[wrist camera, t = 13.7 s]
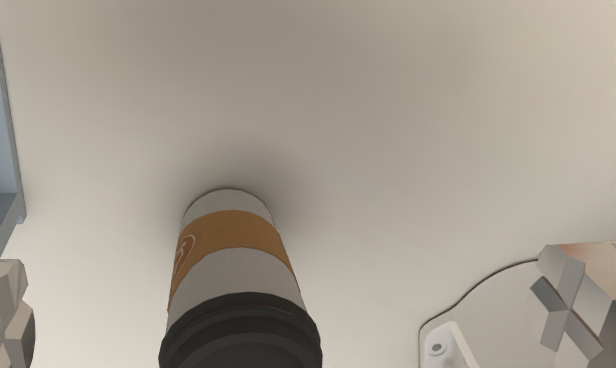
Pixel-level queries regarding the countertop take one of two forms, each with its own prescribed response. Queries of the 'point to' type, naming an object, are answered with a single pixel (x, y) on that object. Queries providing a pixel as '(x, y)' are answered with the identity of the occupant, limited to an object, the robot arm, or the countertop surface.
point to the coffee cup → (235, 292)
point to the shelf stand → (8, 171)
